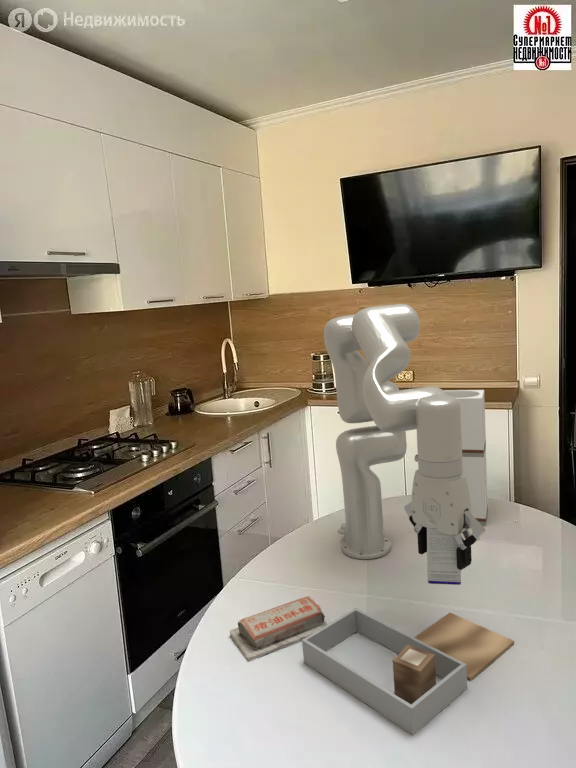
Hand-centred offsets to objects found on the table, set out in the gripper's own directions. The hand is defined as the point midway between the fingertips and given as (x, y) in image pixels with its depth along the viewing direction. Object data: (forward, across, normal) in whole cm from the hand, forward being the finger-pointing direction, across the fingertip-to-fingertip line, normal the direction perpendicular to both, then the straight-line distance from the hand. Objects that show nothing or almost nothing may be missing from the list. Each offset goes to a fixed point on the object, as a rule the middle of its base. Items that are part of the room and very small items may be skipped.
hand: (444, 558), depth 107 cm
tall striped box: (+18, -32, +51) cm, 63 cm away
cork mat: (+18, +1, +2) cm, 18 cm away
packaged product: (+18, -26, -19) cm, 37 cm away
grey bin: (+18, -3, -14) cm, 23 cm away
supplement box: (+4, 0, 0) cm, 4 cm away
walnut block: (+18, +4, -14) cm, 23 cm away
